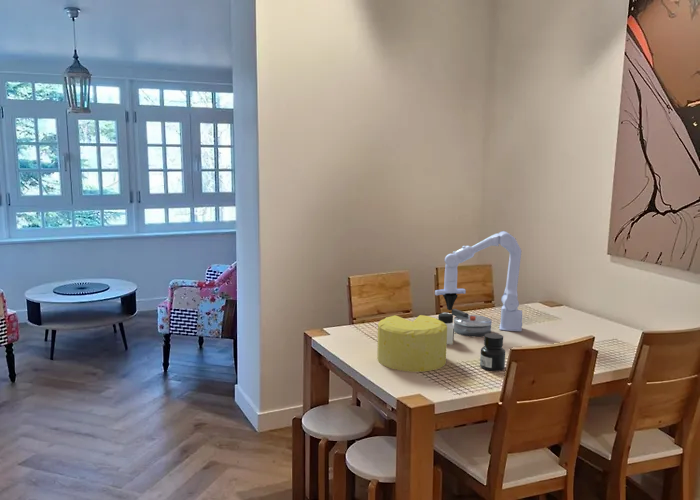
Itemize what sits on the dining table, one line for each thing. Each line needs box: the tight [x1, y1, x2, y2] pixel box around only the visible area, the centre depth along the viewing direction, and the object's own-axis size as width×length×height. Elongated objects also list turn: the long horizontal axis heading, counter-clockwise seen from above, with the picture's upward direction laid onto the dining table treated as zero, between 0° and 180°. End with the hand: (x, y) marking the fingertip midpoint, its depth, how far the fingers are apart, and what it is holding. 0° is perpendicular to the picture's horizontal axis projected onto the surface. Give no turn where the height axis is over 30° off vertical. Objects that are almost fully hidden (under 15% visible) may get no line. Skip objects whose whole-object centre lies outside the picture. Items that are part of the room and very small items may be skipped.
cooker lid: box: [451, 308, 493, 327], centre depth 268 cm, size 22×16×3 cm
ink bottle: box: [479, 332, 506, 372], centre depth 221 cm, size 10×9×12 cm
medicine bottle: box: [437, 312, 455, 345], centre depth 251 cm, size 7×7×12 cm
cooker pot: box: [453, 321, 492, 338], centre depth 269 cm, size 20×16×4 cm
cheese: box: [376, 314, 448, 373], centre depth 228 cm, size 26×26×15 cm
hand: (449, 309), depth 273 cm, fingers closed
